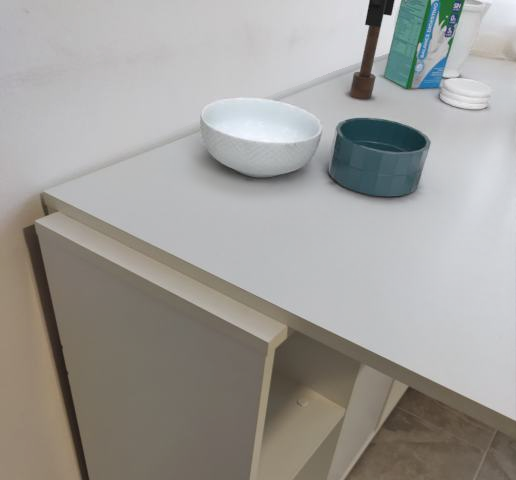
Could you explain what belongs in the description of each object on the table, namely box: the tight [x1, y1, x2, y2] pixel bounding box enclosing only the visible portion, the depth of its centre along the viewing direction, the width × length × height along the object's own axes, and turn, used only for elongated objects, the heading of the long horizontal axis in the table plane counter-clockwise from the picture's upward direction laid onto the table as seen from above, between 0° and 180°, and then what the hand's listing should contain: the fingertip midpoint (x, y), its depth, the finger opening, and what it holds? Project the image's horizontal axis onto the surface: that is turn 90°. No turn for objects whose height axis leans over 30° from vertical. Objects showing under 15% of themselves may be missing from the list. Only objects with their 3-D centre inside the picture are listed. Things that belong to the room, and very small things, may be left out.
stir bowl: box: [328, 117, 432, 197], centre depth 77 cm, size 13×13×6 cm
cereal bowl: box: [199, 97, 323, 179], centre depth 76 cm, size 17×17×7 cm
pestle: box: [349, 3, 386, 101], centre depth 102 cm, size 4×4×20 cm
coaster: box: [439, 77, 493, 110], centre depth 111 cm, size 10×10×4 cm
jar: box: [442, 0, 487, 79], centre depth 124 cm, size 11×10×15 cm
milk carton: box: [383, 0, 465, 90], centre depth 112 cm, size 9×9×25 cm
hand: (378, 20), depth 100 cm, fingers open, 13 cm apart
